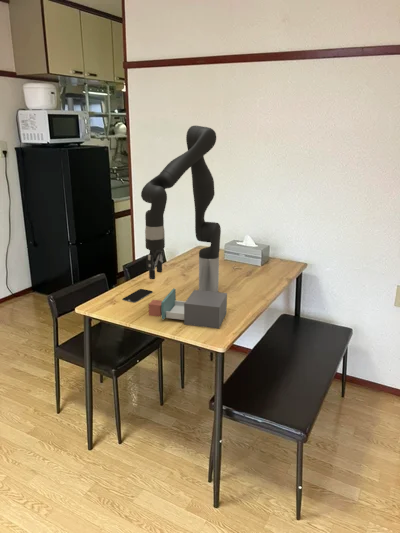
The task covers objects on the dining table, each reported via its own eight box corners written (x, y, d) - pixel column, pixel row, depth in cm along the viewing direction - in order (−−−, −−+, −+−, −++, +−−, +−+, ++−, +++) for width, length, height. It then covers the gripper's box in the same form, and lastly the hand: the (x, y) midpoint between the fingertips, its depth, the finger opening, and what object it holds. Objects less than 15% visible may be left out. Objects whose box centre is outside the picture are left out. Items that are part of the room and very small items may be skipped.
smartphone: (120, 299, 194) (140, 288, 206) (121, 300, 194) (140, 289, 206) (134, 302, 190) (153, 291, 203) (135, 304, 190) (154, 292, 203)
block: (153, 310, 183) (152, 299, 181) (164, 311, 182) (164, 301, 180) (149, 315, 178) (148, 304, 177) (160, 316, 177) (160, 305, 176)
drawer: (171, 304, 186) (171, 288, 184) (203, 307, 183) (204, 291, 181) (159, 318, 172) (158, 301, 170) (194, 323, 169) (194, 305, 166)
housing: (194, 309, 184) (194, 289, 181) (226, 313, 181) (227, 293, 178) (184, 324, 170) (184, 303, 167) (219, 328, 167) (219, 307, 164)
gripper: (152, 231, 177) (153, 269, 182) (139, 240, 164) (140, 280, 169) (169, 233, 175) (170, 270, 180) (157, 241, 162) (158, 282, 167)
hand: (155, 275), depth 175 cm, fingers open, 8 cm apart
